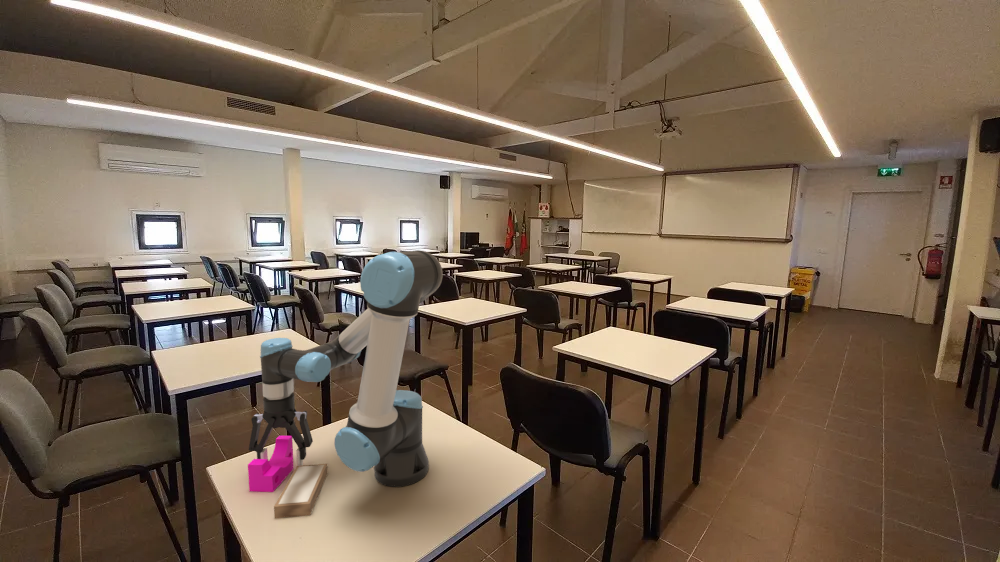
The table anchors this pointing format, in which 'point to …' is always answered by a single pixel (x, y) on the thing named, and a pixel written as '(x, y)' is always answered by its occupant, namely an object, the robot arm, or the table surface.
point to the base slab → (301, 491)
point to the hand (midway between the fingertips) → (282, 470)
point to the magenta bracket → (272, 467)
